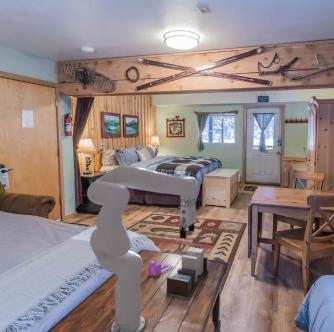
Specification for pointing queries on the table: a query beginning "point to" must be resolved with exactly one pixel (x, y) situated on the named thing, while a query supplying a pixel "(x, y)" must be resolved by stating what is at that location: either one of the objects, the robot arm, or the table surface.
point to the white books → (200, 254)
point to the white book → (190, 263)
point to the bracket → (157, 268)
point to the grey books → (186, 276)
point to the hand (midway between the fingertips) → (187, 234)
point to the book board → (183, 283)
